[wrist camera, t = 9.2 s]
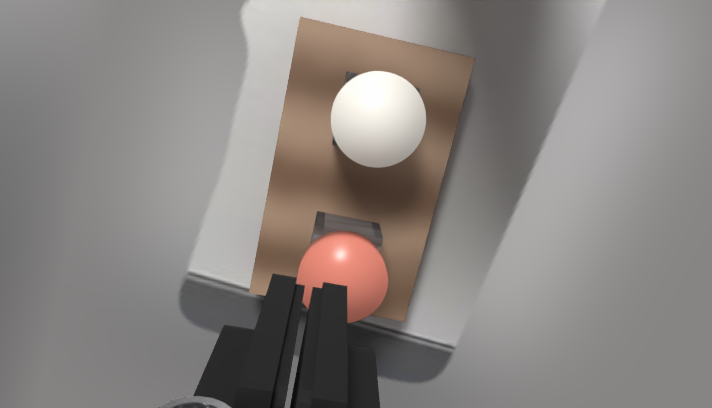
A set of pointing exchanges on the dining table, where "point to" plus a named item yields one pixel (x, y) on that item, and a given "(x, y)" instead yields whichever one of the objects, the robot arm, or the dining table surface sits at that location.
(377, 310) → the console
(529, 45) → the dining table surface
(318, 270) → the red button
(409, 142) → the cream button
